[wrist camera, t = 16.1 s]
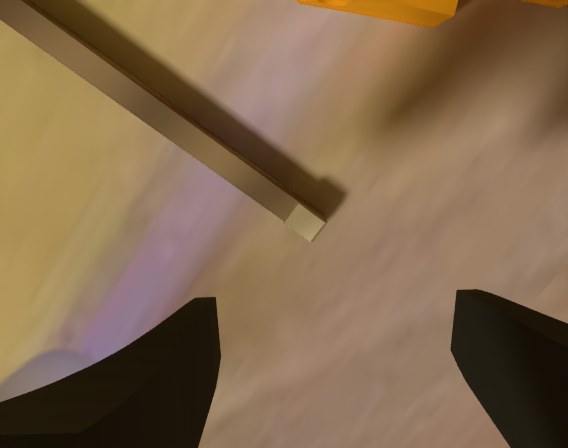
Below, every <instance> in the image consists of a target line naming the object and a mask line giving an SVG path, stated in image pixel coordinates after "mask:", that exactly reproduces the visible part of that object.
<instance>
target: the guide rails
mask: <svg viewBox="0 0 568 448" xmlns="http://www.w3.org/2000/svg"><path fill="white" fill-rule="evenodd" d="M0 20H2V21H3V22H4V23H6V24H7V25H9V26H10V27H11V28H13V29H14V30H16V31H17V32H18V33H20V34H21V35H23V36H24V37H25V38H27V39H28V40H30V41H31V42H33V43H34V44H35V45H37V46H38V47H40V48H41V49H42V50H44V51H45V52H47V53H48V54H49V55H51V56H52V57H54V58H55V59H56V60H58V61H59V62H61V63H62V64H63V65H65V66H66V67H68V68H69V69H71V70H72V71H73V72H75V73H76V74H78V75H79V76H80V77H82V78H83V79H85V80H86V81H87V82H89V83H90V84H92V85H93V86H94V87H96V88H97V89H99V90H100V91H101V92H103V93H104V94H106V95H107V96H109V97H110V98H111V99H113V100H114V101H116V102H117V103H118V104H120V105H121V106H123V107H124V108H125V109H127V110H128V111H130V112H131V113H132V114H134V115H135V116H137V117H138V118H139V119H141V120H142V121H144V122H145V123H147V124H148V125H149V126H151V127H152V128H154V129H155V130H156V131H158V132H159V133H161V134H162V135H163V136H165V137H166V138H168V139H169V140H170V141H172V142H173V143H175V144H176V145H177V146H179V147H180V148H182V149H183V150H185V151H186V152H187V153H189V154H190V155H192V156H193V157H194V158H196V159H197V160H199V161H200V162H201V163H203V164H204V165H206V166H207V167H208V168H210V169H211V170H213V171H214V172H215V173H217V174H218V175H220V176H221V177H223V178H224V179H225V180H227V181H228V182H230V183H231V184H232V185H234V186H235V187H237V188H238V189H239V190H241V191H242V192H244V193H245V194H246V195H248V196H249V197H251V198H252V199H253V200H255V201H256V202H258V203H259V204H261V205H262V206H263V207H265V208H266V209H268V210H269V211H270V212H272V213H273V214H275V215H276V216H277V217H279V218H280V219H282V220H283V221H284V224H286V225H287V226H288V227H290V228H291V229H293V230H294V231H295V232H297V233H298V234H300V235H301V236H302V237H304V238H305V239H307V240H308V241H313V240H314V239H315V238H316V237H317V235H318V234H319V233H320V232H321V230H322V229H323V228H324V227H325V225H326V224H327V221H326V218H325V216H324V215H323V214H322V213H320V212H319V211H318V210H316V209H315V208H314V207H312V206H311V205H310V204H308V203H307V202H305V201H304V200H303V199H301V198H300V197H299V196H297V195H296V194H294V193H293V192H292V191H290V190H289V189H288V188H286V187H285V186H283V185H282V184H281V183H279V182H278V181H277V180H275V179H274V178H273V177H271V176H270V175H268V174H267V173H266V172H264V171H263V170H262V169H260V168H259V167H257V166H256V165H255V164H253V163H252V162H251V161H249V160H248V159H246V158H245V157H244V156H242V155H241V154H240V153H238V152H237V151H236V150H234V149H233V148H231V147H230V146H229V145H227V144H226V143H225V142H223V141H222V140H220V139H219V138H218V137H216V136H215V135H214V134H212V133H211V132H209V131H208V130H207V129H205V128H204V127H203V126H201V125H200V124H199V123H197V122H196V121H194V120H193V119H192V118H190V117H189V116H188V115H186V114H185V113H183V112H182V111H181V110H179V109H178V108H177V107H175V106H174V105H172V104H171V103H170V102H168V101H167V100H166V99H164V98H163V97H162V96H160V95H159V94H157V93H156V92H155V91H153V90H152V89H151V88H149V87H148V86H146V85H145V84H144V83H142V82H141V81H140V80H138V79H137V78H135V77H134V76H133V75H131V74H130V73H129V72H127V71H126V70H124V69H123V68H122V67H120V66H119V65H118V64H116V63H115V62H114V61H112V60H111V59H109V58H108V57H107V56H105V55H104V54H103V53H101V52H100V51H98V50H97V49H96V48H94V47H93V46H92V45H90V44H89V43H87V42H86V41H85V40H83V39H82V38H81V37H79V36H78V35H77V34H75V33H74V32H72V31H71V30H70V29H68V28H67V27H66V26H64V25H63V24H61V23H60V22H59V21H57V20H56V19H55V18H53V17H52V16H50V15H49V14H48V13H46V12H45V11H44V10H42V9H41V8H40V7H38V6H37V5H35V4H34V3H33V2H31V1H30V0H0Z"/></svg>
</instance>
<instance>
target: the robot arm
mask: <svg viewBox="0 0 568 448" xmlns="http://www.w3.org/2000/svg"><path fill="white" fill-rule="evenodd" d="M451 352H452V354H453V356H454V359H455V361H456V363H457V365H458V367H459V369H460V371H461V373H462V375H463V377H464V379H465V381H466V382H467V384H468V385H469V387H470V388H471V390H472V391H473V393H474V394H475V396H476V397H477V399H478V400H479V402H480V403H481V405H482V406H483V408H484V409H485V411H486V412H487V414H488V415H489V416H490V418H491V419H492V421H493V422H494V424H495V425H496V427H497V428H498V430H499V431H500V433H501V434H502V436H503V437H504V439H505V440H506V441H507V443H508V444H509V446H510V447H511V448H568V323H565V322H562V321H560V320H557V319H555V318H552V317H549V316H547V315H544V314H542V313H539V312H537V311H534V310H532V309H530V308H527V307H525V306H522V305H520V304H517V303H515V302H512V301H510V300H507V299H505V298H502V297H500V296H497V295H494V294H492V293H489V292H485V291H482V290H478V289H473V290H457V292H456V302H455V311H454V321H453V331H452V340H451ZM220 360H221V351H220V340H219V328H218V317H217V306H216V297H202V298H194V299H192V300H191V301H189V302H188V303H187V304H185V305H184V306H183V307H181V308H180V309H179V310H177V311H176V312H175V313H173V314H172V315H171V316H169V317H168V318H167V319H165V320H164V321H163V322H161V323H160V324H159V325H157V326H156V327H154V328H153V329H152V330H150V331H149V332H147V333H146V334H144V335H143V336H141V337H140V338H138V339H137V340H135V341H134V342H132V343H131V344H129V345H127V346H126V347H124V348H122V349H121V350H119V351H117V352H116V353H114V354H112V355H110V356H108V357H106V358H105V359H103V360H101V361H99V362H97V363H95V364H93V365H91V366H89V367H87V368H85V369H83V370H81V371H78V372H76V373H74V374H72V375H69V376H67V377H65V378H63V379H61V380H58V381H56V382H54V383H52V384H49V385H46V386H44V387H41V388H39V389H36V390H34V391H31V392H28V393H25V394H23V395H20V396H17V397H14V398H11V399H9V400H6V401H3V402H0V448H198V446H199V443H200V439H201V436H202V433H203V429H204V426H205V423H206V419H207V416H208V413H209V409H210V406H211V403H212V399H213V396H214V392H215V389H216V385H217V379H218V373H219V366H220Z"/></svg>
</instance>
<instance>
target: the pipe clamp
mask: <svg viewBox="0 0 568 448" xmlns="http://www.w3.org/2000/svg"><path fill="white" fill-rule="evenodd" d="M520 1H526V2H531V3H536V4H541V5H547V6H552V7H557V8H560V7H563V6H565V5H568V0H520ZM297 3H299V4H305V5H310V6H316V7H321V8H326V9H332V10H337V11H343V12H348V13H354V14H359V15H365V16H370V17H376V18H381V19H387V20H392V21H398V22H403V23H408V24H414V25H419V26H425V27H430V28H434V27H436V26H437V25H439V24H441V23H442V22H444V21H446V20H448V19H449V18H451V17H453V16H454V15H455V11H456V7H457V3H458V0H297Z"/></svg>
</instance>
